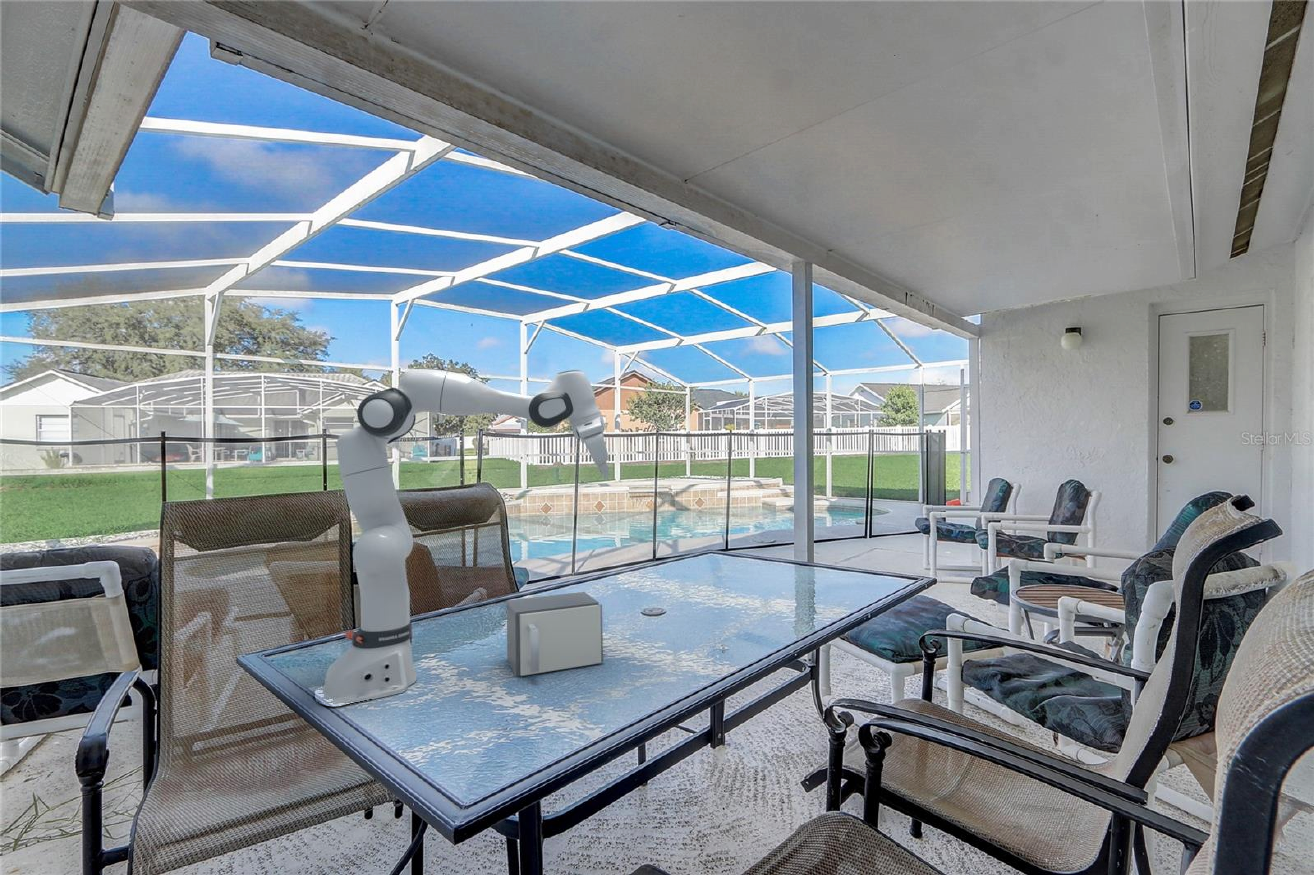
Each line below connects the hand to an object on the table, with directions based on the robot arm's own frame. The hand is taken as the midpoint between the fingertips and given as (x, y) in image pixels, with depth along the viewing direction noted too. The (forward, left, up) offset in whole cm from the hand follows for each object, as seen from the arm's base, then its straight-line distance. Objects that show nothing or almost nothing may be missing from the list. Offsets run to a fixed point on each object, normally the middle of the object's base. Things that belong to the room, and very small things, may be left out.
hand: (605, 475), depth 160 cm
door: (-13, +1, -49) cm, 51 cm away
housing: (-10, +11, -50) cm, 52 cm away
